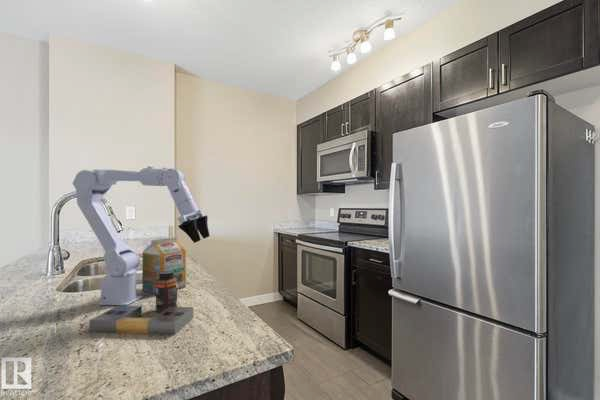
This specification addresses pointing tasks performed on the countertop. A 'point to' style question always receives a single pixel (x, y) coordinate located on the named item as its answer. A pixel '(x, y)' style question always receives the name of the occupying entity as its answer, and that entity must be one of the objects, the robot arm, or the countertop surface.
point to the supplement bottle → (166, 291)
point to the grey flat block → (141, 320)
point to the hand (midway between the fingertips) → (202, 239)
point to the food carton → (163, 262)
